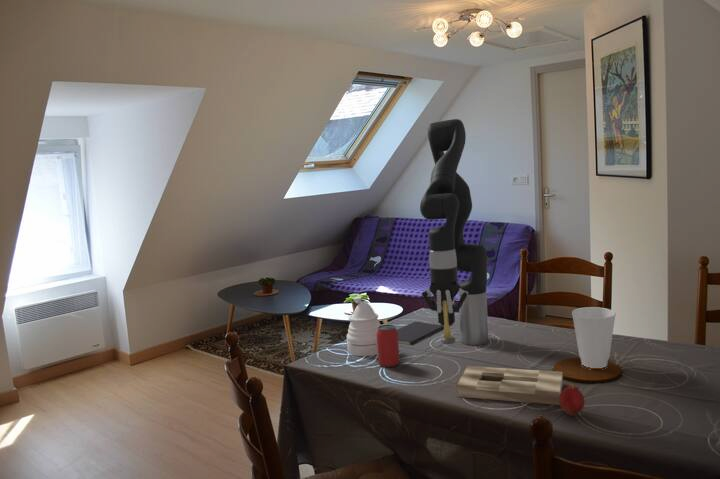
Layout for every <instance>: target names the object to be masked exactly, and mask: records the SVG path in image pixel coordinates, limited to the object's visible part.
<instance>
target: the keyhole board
mask: <svg viewBox="0 0 720 479" xmlns="http://www.w3.org/2000/svg"><path fill="white" fill-rule="evenodd" d="M563 373H564V372H563V371H553V370H538V369H536V370H535V369H520V368H519V369H518V368H507V367H505V368H504V367H488V366H473V365H471V366H470V365H467V366H466V368H465V369H464V371H463V374H462V375H461V376H460V378H459V380H458V382H457V385H456V388H457V391H456V392H457V397H458V398H468V399H469V398H470V399H483V400H494V401H496V400H498V401H508V402H509V401H510V402H519V403H531V404H544V405H545V404H546V405H557V406H560V403H559V396H560V394H561V392H562V391H563V384H564V381H563V380H564V377H563V376H564V375H563Z"/></svg>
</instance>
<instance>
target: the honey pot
mask: <svg viewBox="0 0 720 479" xmlns="http://www.w3.org/2000/svg"><path fill="white" fill-rule="evenodd" d="M353 301H354V303H355V304H357V305H356V307H355V309H354V310H353V313H352V314H349V315H348V320H349V321H350V322H349V325H348V329H347V332H348V333H347V334H346V345H347V347H346V348H347V354H349V355H352V356H355V357H368V356H369V357H370V356H376V355H378V347H377V331H378V327H379V326H381V325H382V324H381V323H380V321H379V319H378V318H379V314H378V313H376V312H375V311H374V309H373V308H372V306H371V305H370V304H369V303H368V302H367V301H365V300H364V301H362V297H361V296H355V297H353Z"/></svg>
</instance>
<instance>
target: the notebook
mask: <svg viewBox="0 0 720 479" xmlns="http://www.w3.org/2000/svg"><path fill="white" fill-rule="evenodd" d="M396 330H397V333H398V344H405V345H409V346H411V345H414V344H416V343H418V342H420V341H422V340H423V339H426V338H428V337H430V336H431V335H433V334H436V333H438V332H439V331H442V330H444V325H441V324H434V323H429V322H422V321H412V322H410V323H409V324H406V325H404V326H403V327H400V328H396Z"/></svg>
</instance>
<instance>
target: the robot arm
mask: <svg viewBox="0 0 720 479" xmlns="http://www.w3.org/2000/svg"><path fill="white" fill-rule="evenodd" d="M466 134H467V133H466V128H465V125H464V123H463V121H462V120H461V119H459V118H458V119H457V118H453V119H448V120H440V121H436V122H434V121H433V122H432V123H430V124H428V127H427V138H428V143H429V147H430V150H431V154H432V159H433V162H434V166H433V167H432V170H431V175H430V181H429V185H428V188H427V189H426V190H425V192H424V194H423V196H422V198H421V200H420V205H419V210H420V214H421V215H422V217H423V218H424V219H426V220H433V221H434V220H446V222H445V224H443V225H441V226H438V227H434V228H431V229H430V230H429V232H428V243H429V244H428V245H429V258H428V259H429V260H428V261H429V262H428V265H429V276H430V285H429V287H428V288H427V289H425V290H423V291H422V293H421V296H422V297H423V299H424V301H425V302H426V304H427V305H428V307H429V309H430V310H431V311H433V312H434V311H435V312H436V313H437V319H438V320H437V321H438V323H439V324H440V325H442V326H444V321H443V305H442V301H444V300H445V301H447V305H448V310H449V313H448V317H449V326H450V327H451V326H453V325H454V323H455V322H456V319H455V318H456V316H455V314H456V312H458V311H459V312H458V313H459V330H460V331H459V333H460V342H461V343H462V344H464V345H471V346H478V345H484V344H487V343H488V342H489V327H488V326H489V325H488V323H489V322H488V321H489V320H488V298H487V284H488V253H487V249H486V247H485V246H484V245H483V244H478V243H477V244H474V243H465V240H464V230H465V226H466V224H467V222H468V220H469V218H470V215H471V213H472V210H473V201H472V195H471V191H470V186H469V185H468V183H467V182H466V181H465V180H464V178H463V177H462V176H461V175H460V173H458V172H457V171H458V167H459V163H460V161H461V158H462V155H463V152H464V149H465V146H466V141H467V140H466V138H467V137H466V136H467V135H466ZM458 271H459V272H470V273H471V278H470V279H467V280H464V281H461V282H459V279H458V277H459V276H458ZM432 295H433V296H434V297H435V299H436V301H435V300H434V299H433V297H432ZM457 295H458V301H457V304H456V305H455V297H456V296H457Z"/></svg>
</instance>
